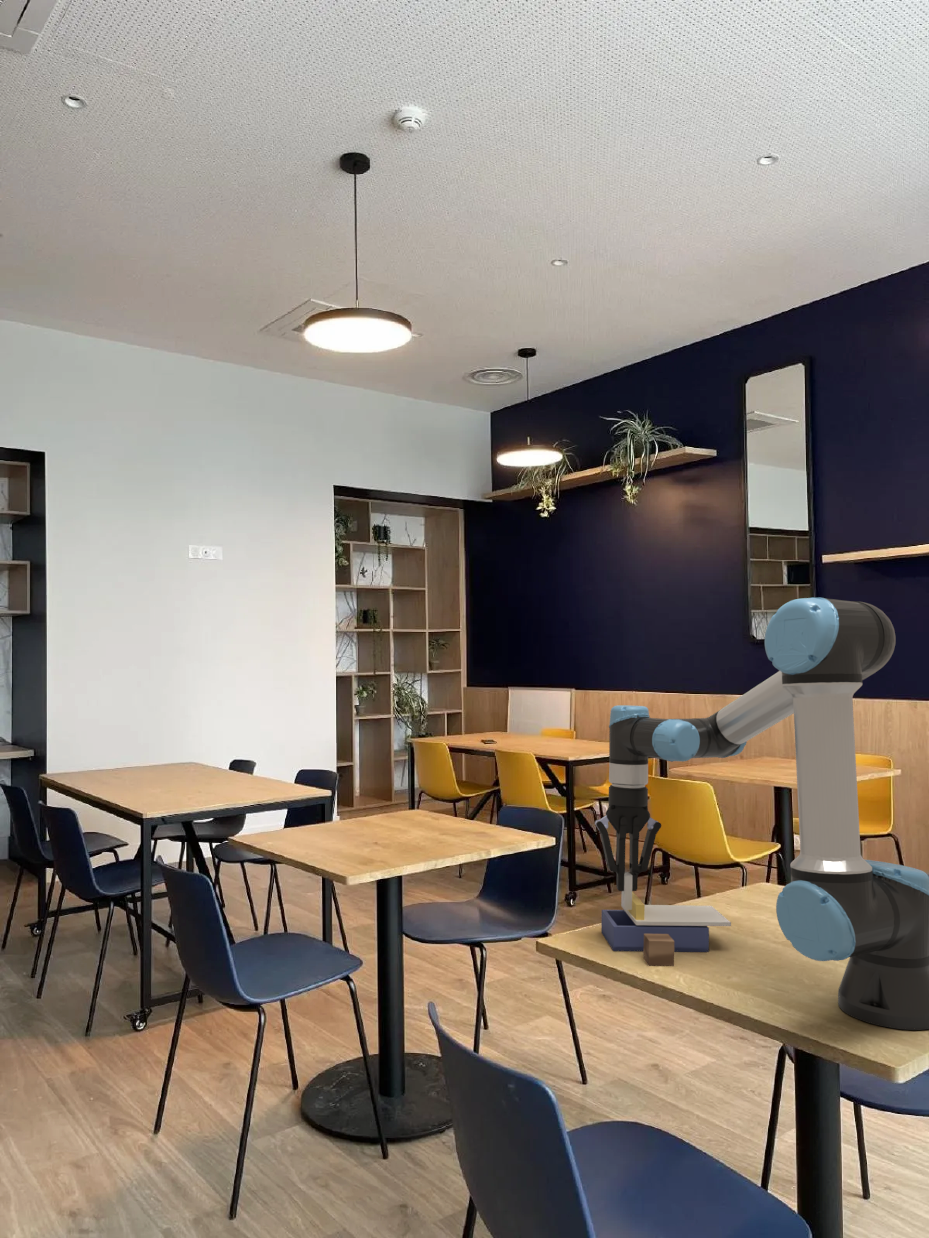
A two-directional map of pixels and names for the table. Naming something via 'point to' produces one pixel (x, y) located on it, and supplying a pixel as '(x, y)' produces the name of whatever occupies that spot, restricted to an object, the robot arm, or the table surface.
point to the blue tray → (631, 936)
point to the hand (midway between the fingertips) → (626, 907)
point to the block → (658, 950)
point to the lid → (675, 915)
